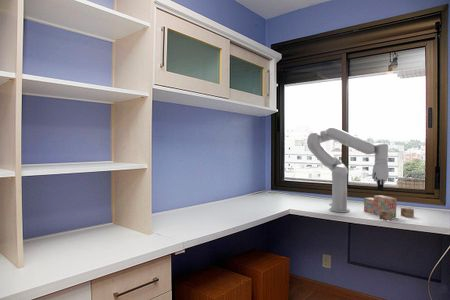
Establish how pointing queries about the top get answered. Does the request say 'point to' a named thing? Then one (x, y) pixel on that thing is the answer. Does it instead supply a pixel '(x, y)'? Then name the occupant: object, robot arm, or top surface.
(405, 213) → the marked walnut cube
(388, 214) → the marked walnut cube
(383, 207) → the stack of blocks
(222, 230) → the top surface
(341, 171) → the robot arm
